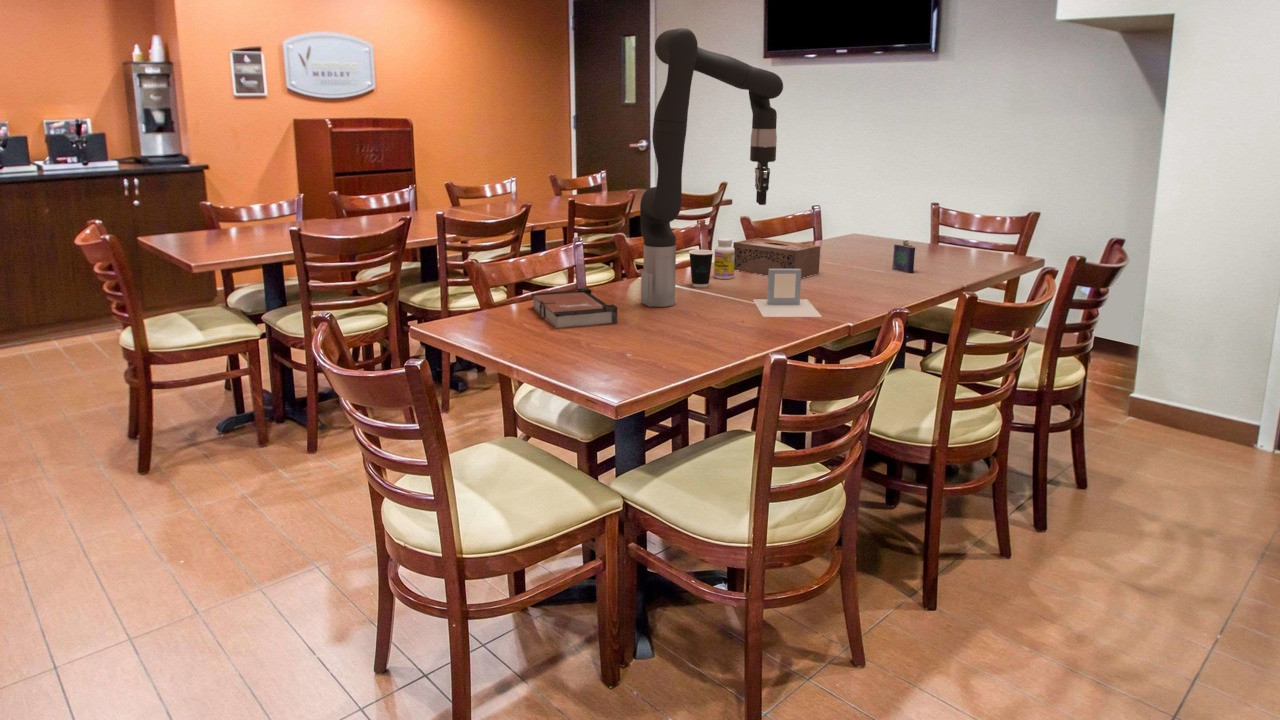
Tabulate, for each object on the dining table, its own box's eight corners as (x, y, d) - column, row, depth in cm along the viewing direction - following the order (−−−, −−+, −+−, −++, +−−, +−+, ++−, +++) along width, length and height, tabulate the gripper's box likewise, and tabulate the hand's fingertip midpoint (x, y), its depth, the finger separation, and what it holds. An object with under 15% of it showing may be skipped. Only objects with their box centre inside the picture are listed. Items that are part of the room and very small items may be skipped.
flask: (890, 269, 313) (893, 238, 310) (896, 268, 314) (899, 238, 311) (909, 273, 305) (912, 242, 302) (915, 272, 307) (918, 241, 304)
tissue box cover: (732, 270, 311) (733, 242, 308) (757, 265, 321) (758, 237, 318) (794, 281, 294) (796, 250, 291) (818, 275, 304) (820, 245, 301)
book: (529, 309, 254) (528, 292, 252) (588, 304, 260) (587, 288, 258) (553, 331, 230) (552, 312, 229) (617, 325, 236) (617, 306, 235)
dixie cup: (701, 282, 289) (701, 248, 286) (718, 286, 284) (719, 251, 280) (682, 285, 285) (683, 251, 282) (699, 289, 279) (700, 254, 276)
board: (752, 301, 262) (752, 299, 262) (806, 301, 263) (807, 299, 262) (763, 318, 241) (763, 316, 241) (822, 318, 241) (822, 316, 241)
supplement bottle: (710, 278, 296) (711, 239, 292) (718, 275, 302) (719, 237, 298) (729, 280, 293) (730, 241, 289) (736, 276, 299) (738, 238, 295)
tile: (766, 302, 258) (768, 268, 255) (798, 302, 258) (799, 268, 255) (768, 304, 255) (769, 270, 253) (799, 304, 255) (801, 270, 253)
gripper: (747, 143, 268) (745, 201, 273) (753, 146, 254) (751, 206, 259) (772, 143, 268) (770, 201, 273) (780, 146, 254) (777, 206, 259)
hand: (761, 203), depth 266 cm, fingers open, 4 cm apart
